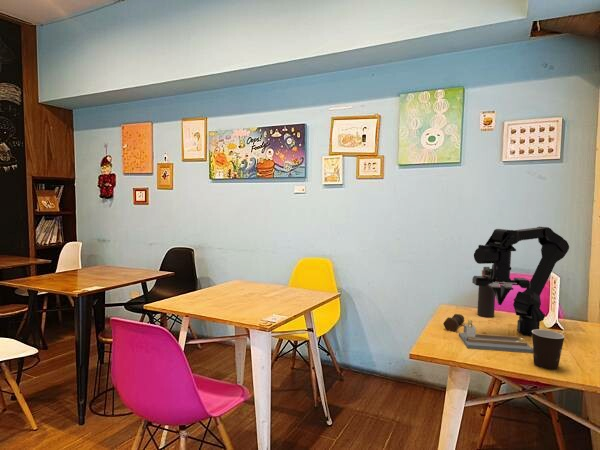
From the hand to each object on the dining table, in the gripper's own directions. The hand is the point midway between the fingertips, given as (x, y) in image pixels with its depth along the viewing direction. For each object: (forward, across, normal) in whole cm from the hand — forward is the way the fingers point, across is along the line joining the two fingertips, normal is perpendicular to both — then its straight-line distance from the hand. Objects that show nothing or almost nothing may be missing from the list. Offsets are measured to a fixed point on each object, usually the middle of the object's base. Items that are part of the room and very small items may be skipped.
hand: (499, 304), depth 151 cm
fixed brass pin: (+11, -5, +9) cm, 15 cm away
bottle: (+12, -4, -29) cm, 32 cm away
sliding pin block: (+11, +12, +9) cm, 19 cm away
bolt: (+12, +13, -9) cm, 20 cm away
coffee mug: (+12, -7, +25) cm, 29 cm away
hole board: (+12, +4, +9) cm, 16 cm away
